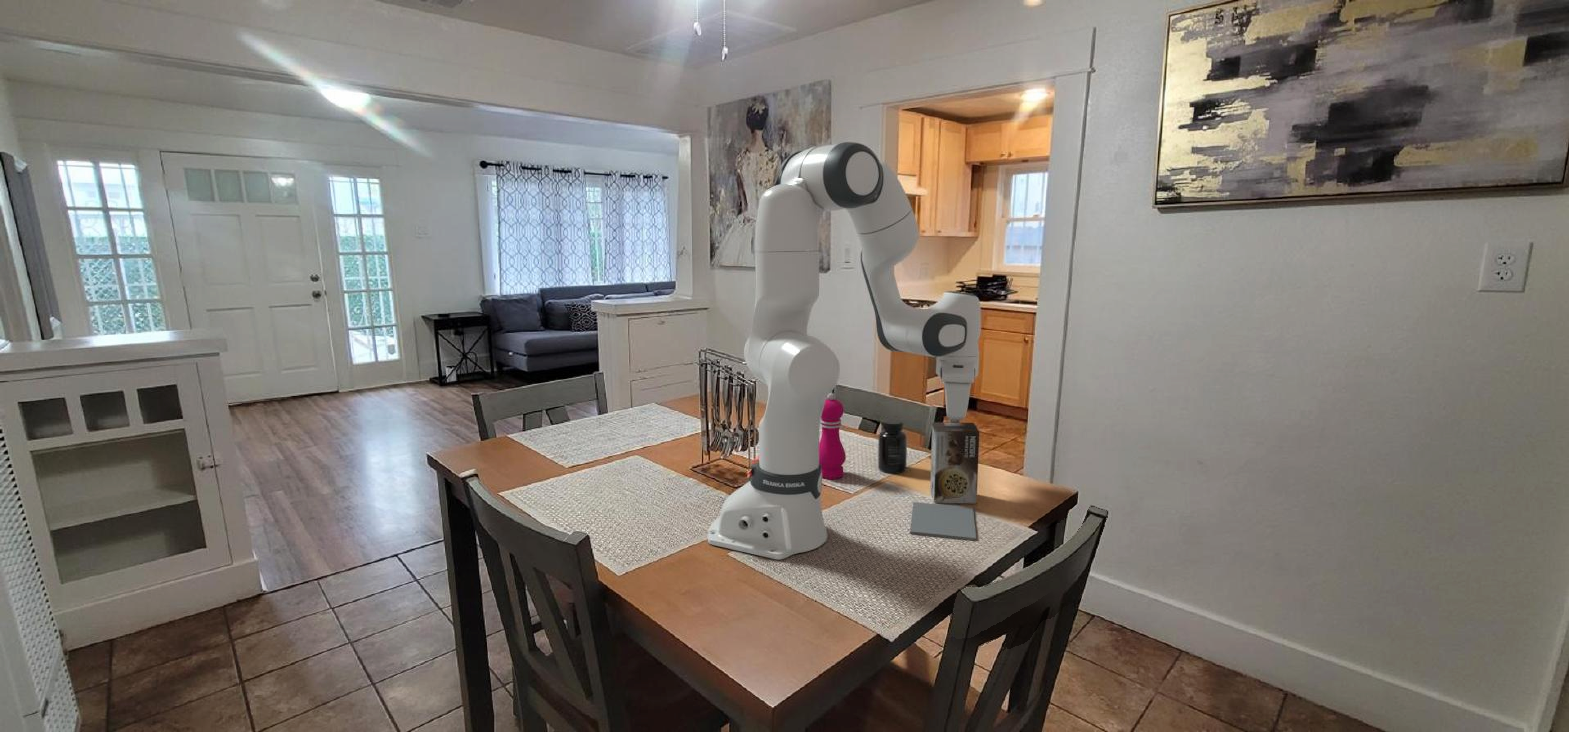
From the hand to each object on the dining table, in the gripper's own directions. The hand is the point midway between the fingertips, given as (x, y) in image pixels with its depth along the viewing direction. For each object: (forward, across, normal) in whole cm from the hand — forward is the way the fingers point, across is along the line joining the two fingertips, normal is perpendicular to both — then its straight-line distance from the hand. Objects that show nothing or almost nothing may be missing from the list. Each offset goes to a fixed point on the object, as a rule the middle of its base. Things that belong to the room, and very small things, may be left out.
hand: (954, 428), depth 137 cm
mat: (+14, +18, -2) cm, 23 cm away
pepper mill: (+14, -2, -28) cm, 31 cm away
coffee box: (+14, +6, 0) cm, 15 cm away
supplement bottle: (+14, -9, -14) cm, 22 cm away
